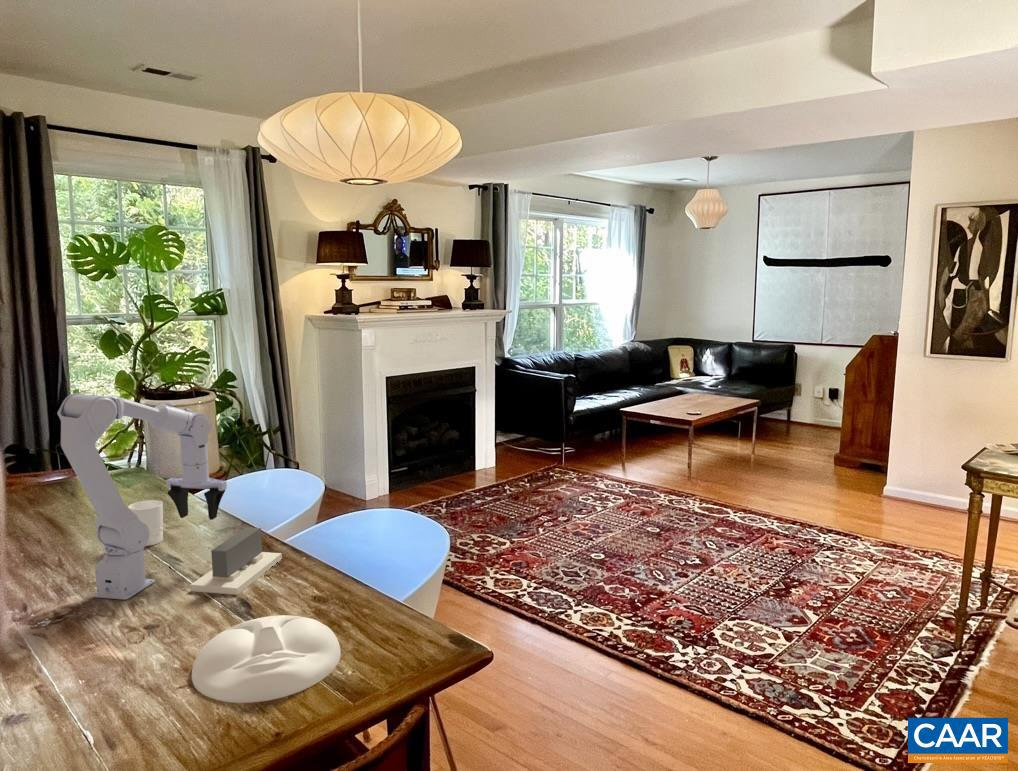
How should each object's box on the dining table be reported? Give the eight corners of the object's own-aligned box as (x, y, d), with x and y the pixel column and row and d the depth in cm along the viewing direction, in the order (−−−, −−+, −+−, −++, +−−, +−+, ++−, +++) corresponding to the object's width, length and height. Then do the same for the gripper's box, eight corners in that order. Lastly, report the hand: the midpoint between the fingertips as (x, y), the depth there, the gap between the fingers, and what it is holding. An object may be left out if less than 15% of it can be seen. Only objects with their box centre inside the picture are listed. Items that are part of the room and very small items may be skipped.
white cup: (140, 550, 176) (137, 511, 175) (125, 543, 181) (122, 505, 179) (171, 540, 182) (168, 503, 181) (156, 534, 187) (153, 498, 186)
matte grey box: (227, 577, 154) (226, 551, 153) (212, 576, 154) (211, 550, 153) (262, 552, 168) (261, 528, 167) (248, 551, 169) (247, 527, 168)
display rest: (237, 594, 151) (237, 583, 150) (190, 591, 153) (190, 580, 152) (282, 559, 170) (281, 549, 170) (240, 556, 172) (239, 546, 172)
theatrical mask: (184, 670, 107) (192, 602, 130) (187, 719, 109) (195, 642, 132) (349, 641, 116) (329, 582, 140) (350, 686, 118) (331, 620, 141)
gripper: (232, 459, 170) (235, 513, 172) (177, 457, 172) (181, 510, 174) (215, 467, 163) (219, 523, 165) (159, 464, 165) (162, 519, 167)
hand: (198, 517), depth 169 cm, fingers open, 7 cm apart
